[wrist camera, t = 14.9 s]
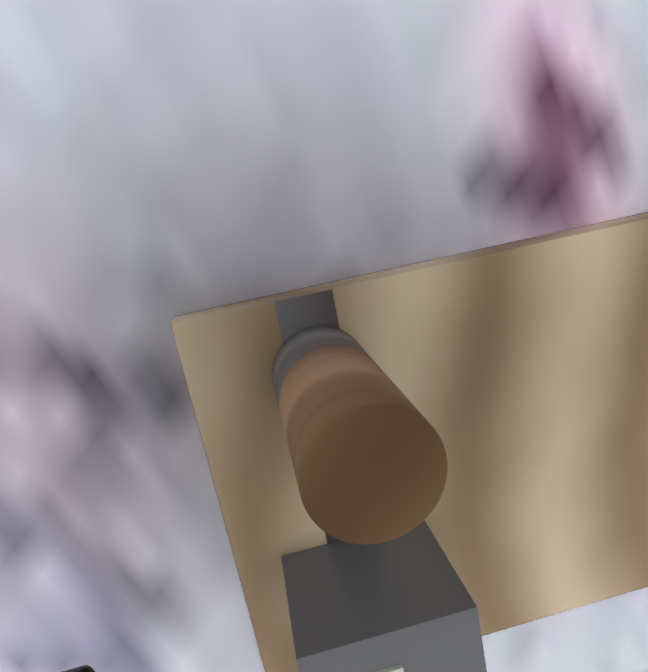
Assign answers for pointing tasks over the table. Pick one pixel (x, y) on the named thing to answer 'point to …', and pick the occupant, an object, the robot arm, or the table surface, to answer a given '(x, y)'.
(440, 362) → the board
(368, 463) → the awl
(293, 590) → the box
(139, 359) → the table surface
